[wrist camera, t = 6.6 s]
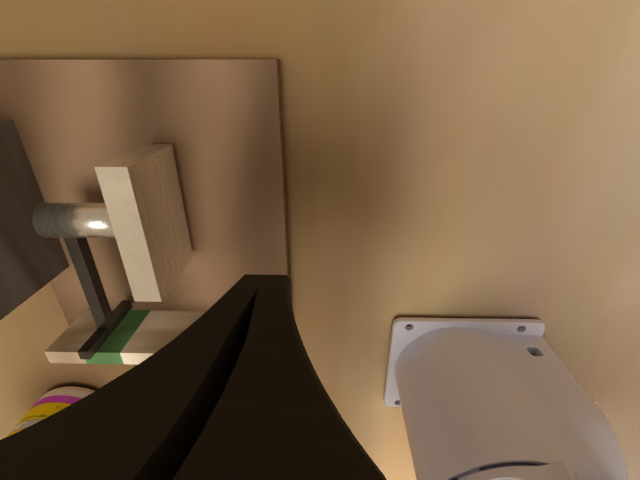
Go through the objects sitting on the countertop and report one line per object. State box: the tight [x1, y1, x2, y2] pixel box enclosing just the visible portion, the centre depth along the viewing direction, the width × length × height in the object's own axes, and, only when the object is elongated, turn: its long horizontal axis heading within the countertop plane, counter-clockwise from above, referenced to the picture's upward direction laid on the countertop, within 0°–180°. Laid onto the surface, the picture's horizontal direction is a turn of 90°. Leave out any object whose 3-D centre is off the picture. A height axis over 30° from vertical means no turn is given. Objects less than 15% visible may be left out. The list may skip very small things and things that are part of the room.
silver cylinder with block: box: [32, 144, 193, 360], centre depth 17 cm, size 6×10×4 cm, turn 0°
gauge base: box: [0, 59, 290, 364], centre depth 16 cm, size 14×15×7 cm
